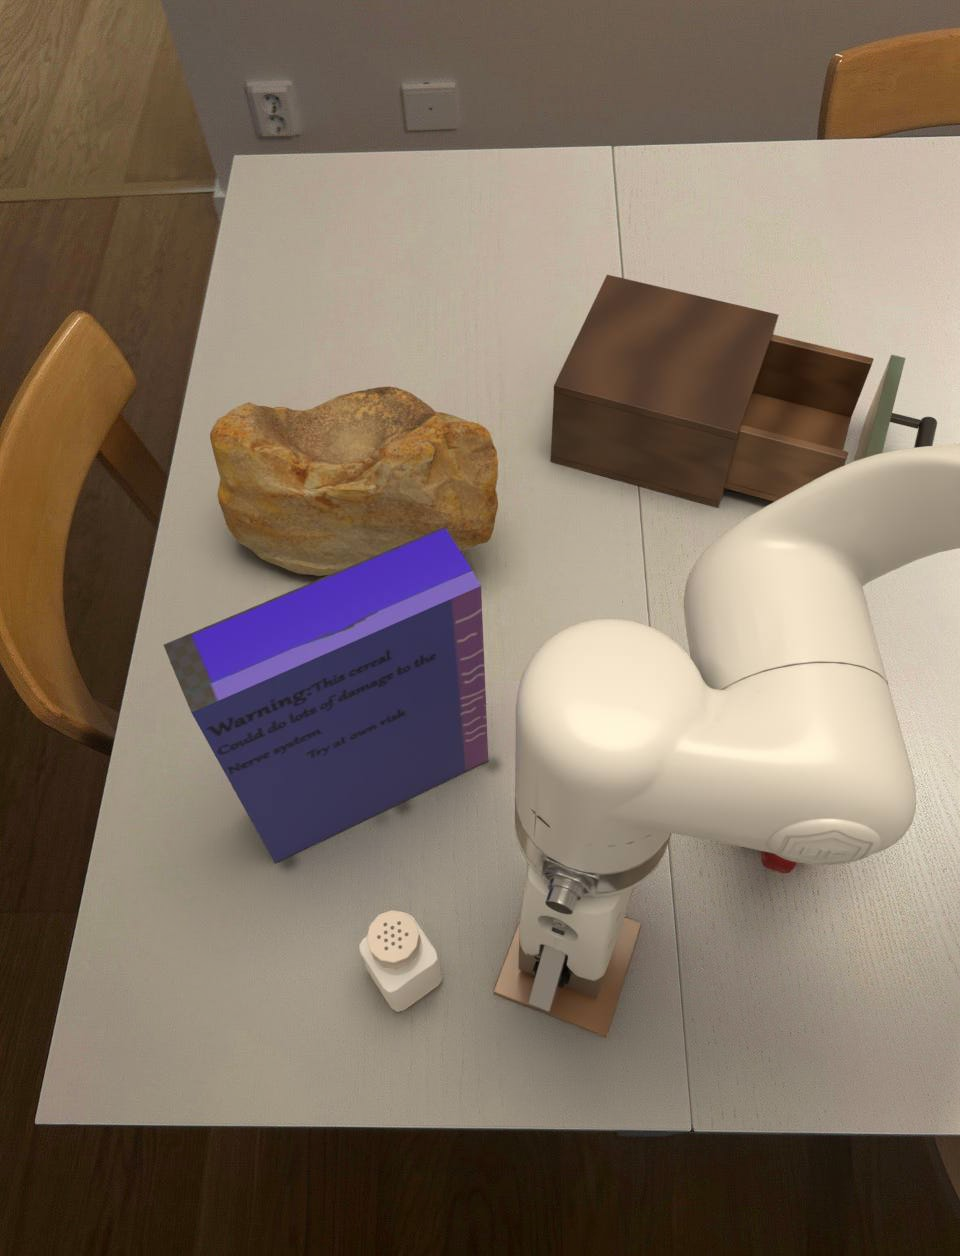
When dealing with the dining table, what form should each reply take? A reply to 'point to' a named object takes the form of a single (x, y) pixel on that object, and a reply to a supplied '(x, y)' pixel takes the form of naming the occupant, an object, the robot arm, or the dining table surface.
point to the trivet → (567, 1001)
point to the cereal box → (344, 692)
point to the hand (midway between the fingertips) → (574, 922)
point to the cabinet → (659, 388)
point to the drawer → (811, 417)
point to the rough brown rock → (352, 478)
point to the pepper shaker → (400, 959)
